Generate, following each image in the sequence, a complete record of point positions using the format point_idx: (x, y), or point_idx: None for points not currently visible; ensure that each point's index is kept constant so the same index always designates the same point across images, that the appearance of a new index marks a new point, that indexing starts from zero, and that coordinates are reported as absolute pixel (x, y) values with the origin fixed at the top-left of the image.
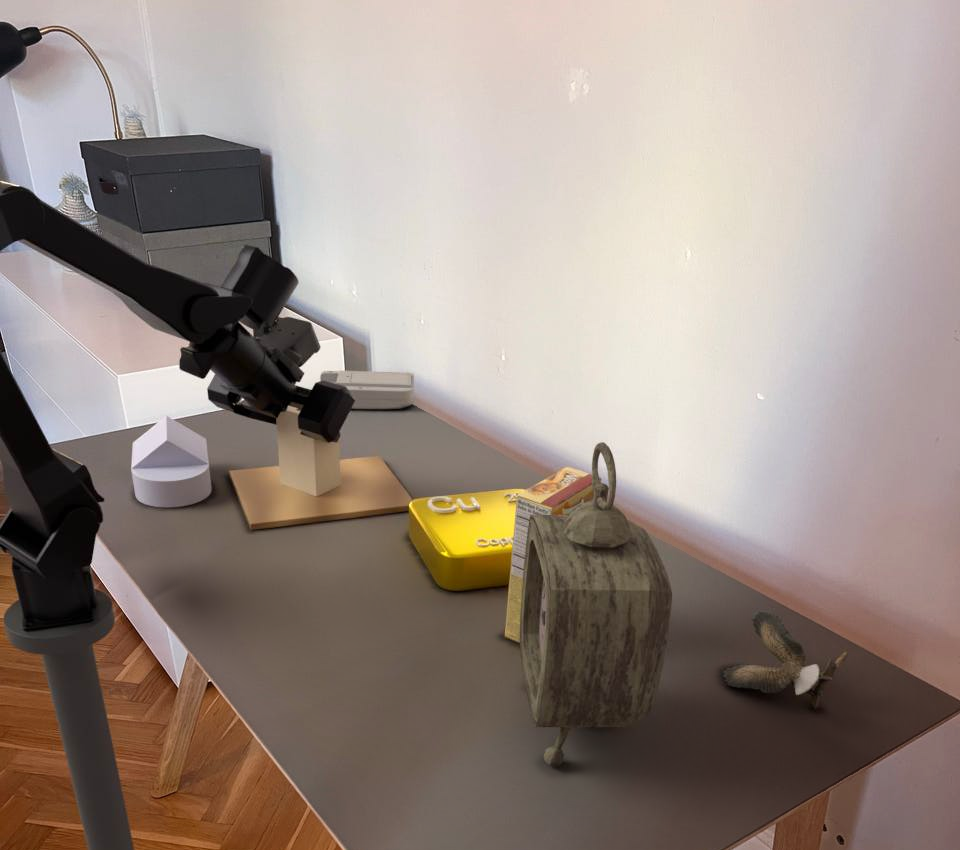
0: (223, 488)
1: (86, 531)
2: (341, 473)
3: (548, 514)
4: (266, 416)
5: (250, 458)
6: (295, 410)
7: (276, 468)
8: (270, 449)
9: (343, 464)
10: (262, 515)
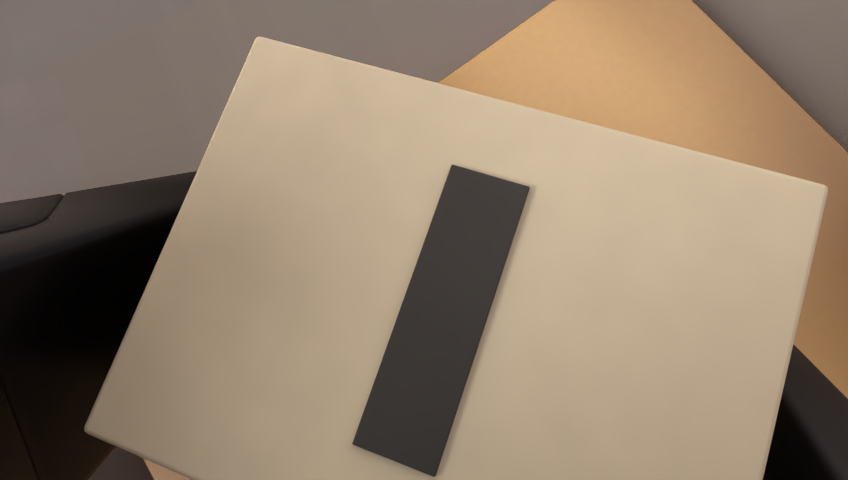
0: (113, 463)
1: None
2: None
3: None
4: (66, 456)
5: (119, 138)
6: (355, 477)
7: None
8: (164, 31)
9: (524, 88)
10: None
